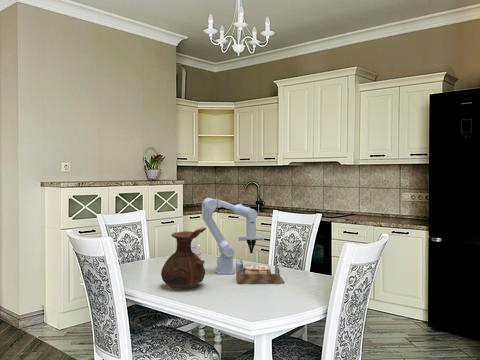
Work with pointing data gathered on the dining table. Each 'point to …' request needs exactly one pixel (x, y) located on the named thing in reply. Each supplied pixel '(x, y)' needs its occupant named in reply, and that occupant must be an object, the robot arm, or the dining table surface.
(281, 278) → the bookend
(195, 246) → the ink box
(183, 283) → the jug
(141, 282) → the dining table surface
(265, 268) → the trinket box
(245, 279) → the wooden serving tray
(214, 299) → the dining table surface
